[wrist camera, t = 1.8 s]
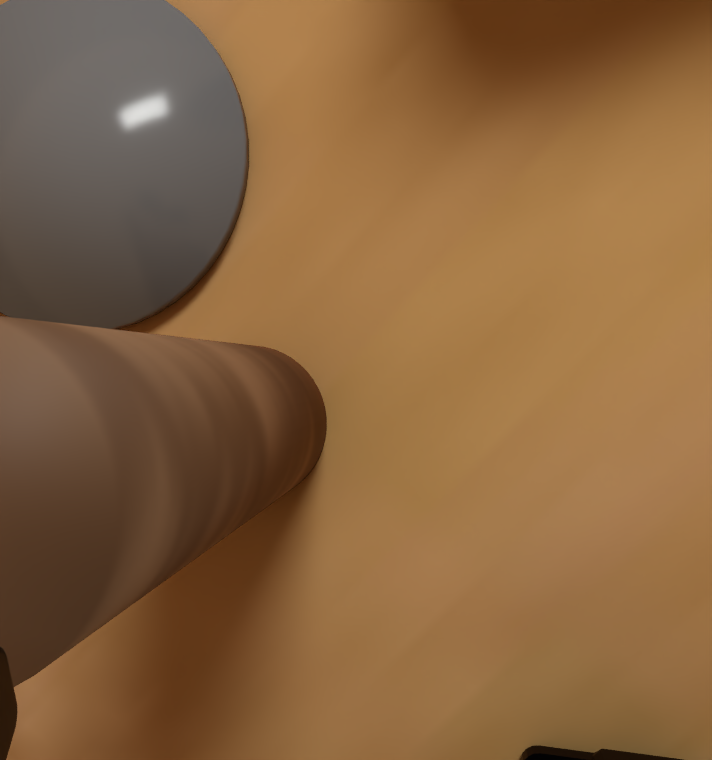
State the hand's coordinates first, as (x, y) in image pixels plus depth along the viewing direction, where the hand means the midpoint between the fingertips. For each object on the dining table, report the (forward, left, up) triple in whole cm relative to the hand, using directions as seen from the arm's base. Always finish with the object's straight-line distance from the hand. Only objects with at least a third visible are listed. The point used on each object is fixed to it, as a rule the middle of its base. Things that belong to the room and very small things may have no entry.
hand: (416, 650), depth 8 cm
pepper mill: (+1, +6, -13) cm, 14 cm away
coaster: (+9, +12, -13) cm, 20 cm away
